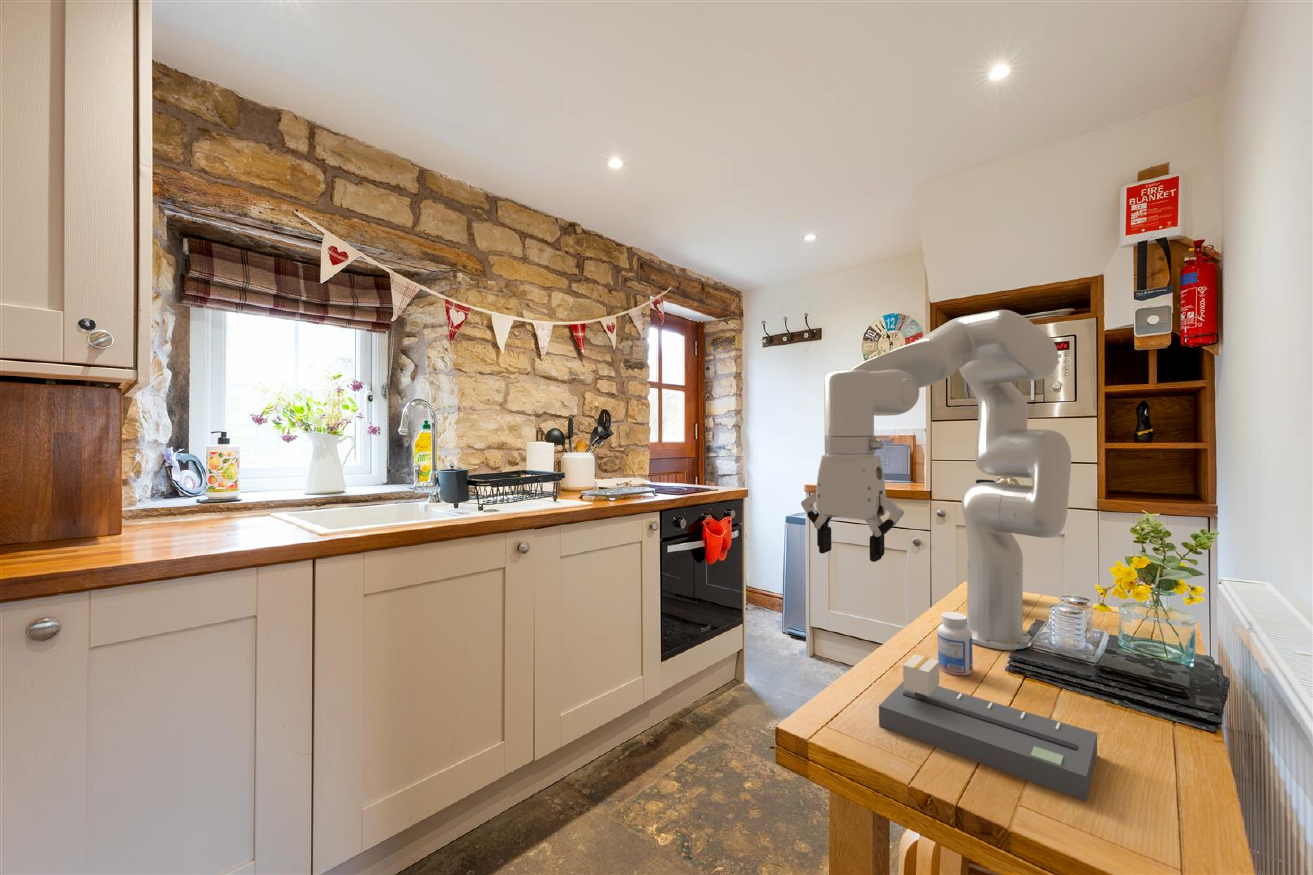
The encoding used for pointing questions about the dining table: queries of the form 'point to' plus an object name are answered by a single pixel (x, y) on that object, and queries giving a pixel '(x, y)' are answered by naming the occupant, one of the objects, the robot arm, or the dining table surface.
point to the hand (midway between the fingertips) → (849, 555)
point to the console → (996, 737)
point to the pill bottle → (955, 644)
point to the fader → (921, 675)
